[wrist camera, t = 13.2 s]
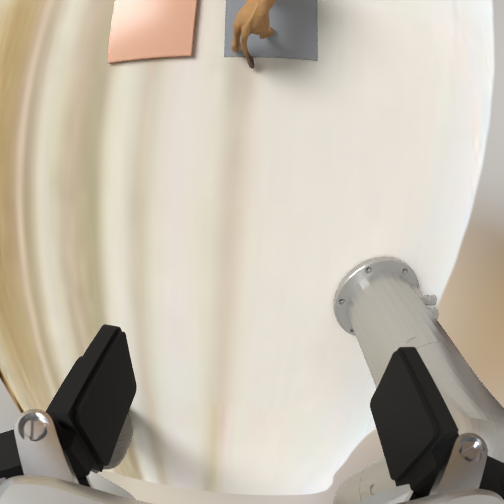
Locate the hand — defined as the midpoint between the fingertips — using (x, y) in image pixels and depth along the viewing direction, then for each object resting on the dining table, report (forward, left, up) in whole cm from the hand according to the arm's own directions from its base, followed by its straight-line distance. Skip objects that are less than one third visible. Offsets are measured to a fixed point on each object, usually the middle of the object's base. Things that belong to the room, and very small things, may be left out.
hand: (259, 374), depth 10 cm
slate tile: (-1, -23, -28) cm, 37 cm away
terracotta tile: (+12, -23, -28) cm, 38 cm away
